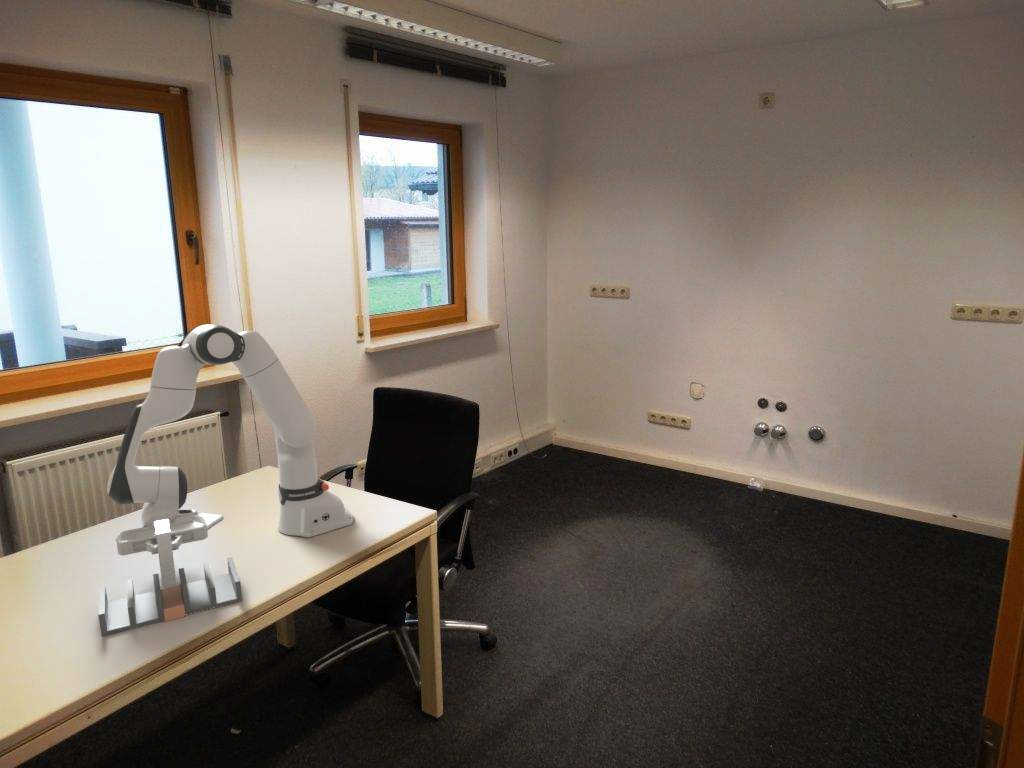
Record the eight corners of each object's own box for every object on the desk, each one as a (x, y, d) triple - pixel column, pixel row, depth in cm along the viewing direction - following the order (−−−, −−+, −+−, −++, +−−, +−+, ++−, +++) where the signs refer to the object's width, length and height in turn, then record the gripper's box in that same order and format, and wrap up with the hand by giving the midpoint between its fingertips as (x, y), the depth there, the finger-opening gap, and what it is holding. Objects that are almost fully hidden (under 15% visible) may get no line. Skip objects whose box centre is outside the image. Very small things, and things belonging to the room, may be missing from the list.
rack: (234, 575, 181) (232, 557, 180) (242, 602, 169) (240, 582, 168) (102, 606, 167) (99, 586, 166) (101, 637, 154) (98, 616, 153)
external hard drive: (223, 519, 216) (198, 537, 205) (201, 517, 218) (174, 534, 206) (223, 515, 216) (197, 531, 204) (200, 512, 218) (173, 529, 206)
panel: (174, 570, 171) (168, 518, 167) (176, 585, 164) (170, 531, 160) (160, 573, 169) (154, 521, 166) (162, 588, 162) (156, 534, 159)
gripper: (114, 524, 171) (113, 546, 159) (202, 508, 180) (208, 528, 169) (117, 547, 172) (117, 571, 160) (205, 530, 182) (211, 551, 170)
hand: (165, 549), depth 165 cm, fingers closed on panel, 3 cm apart
